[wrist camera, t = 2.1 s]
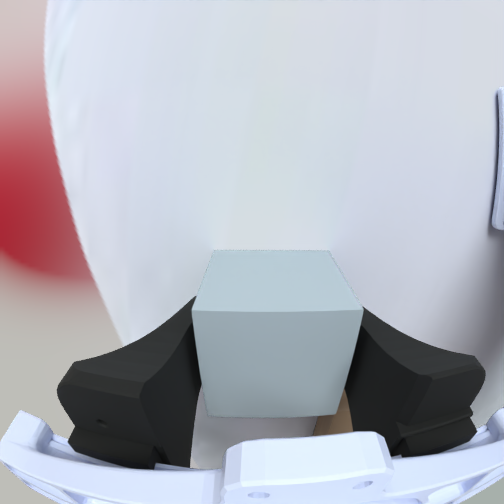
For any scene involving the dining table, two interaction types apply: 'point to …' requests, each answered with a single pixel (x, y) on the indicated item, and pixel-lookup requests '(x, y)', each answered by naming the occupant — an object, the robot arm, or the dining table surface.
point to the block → (274, 333)
